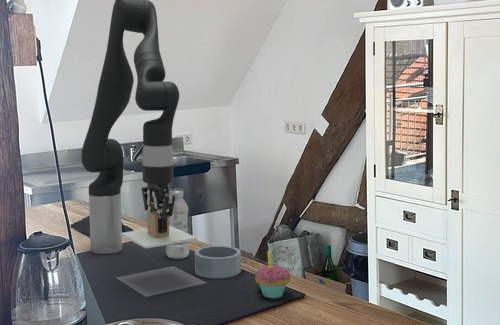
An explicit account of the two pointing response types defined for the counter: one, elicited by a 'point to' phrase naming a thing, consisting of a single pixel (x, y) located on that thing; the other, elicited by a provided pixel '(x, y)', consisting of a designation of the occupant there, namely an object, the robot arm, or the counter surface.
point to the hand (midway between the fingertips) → (158, 230)
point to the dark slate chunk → (84, 227)
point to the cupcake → (272, 279)
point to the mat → (160, 281)
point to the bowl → (217, 262)
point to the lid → (157, 234)
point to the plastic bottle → (178, 226)
